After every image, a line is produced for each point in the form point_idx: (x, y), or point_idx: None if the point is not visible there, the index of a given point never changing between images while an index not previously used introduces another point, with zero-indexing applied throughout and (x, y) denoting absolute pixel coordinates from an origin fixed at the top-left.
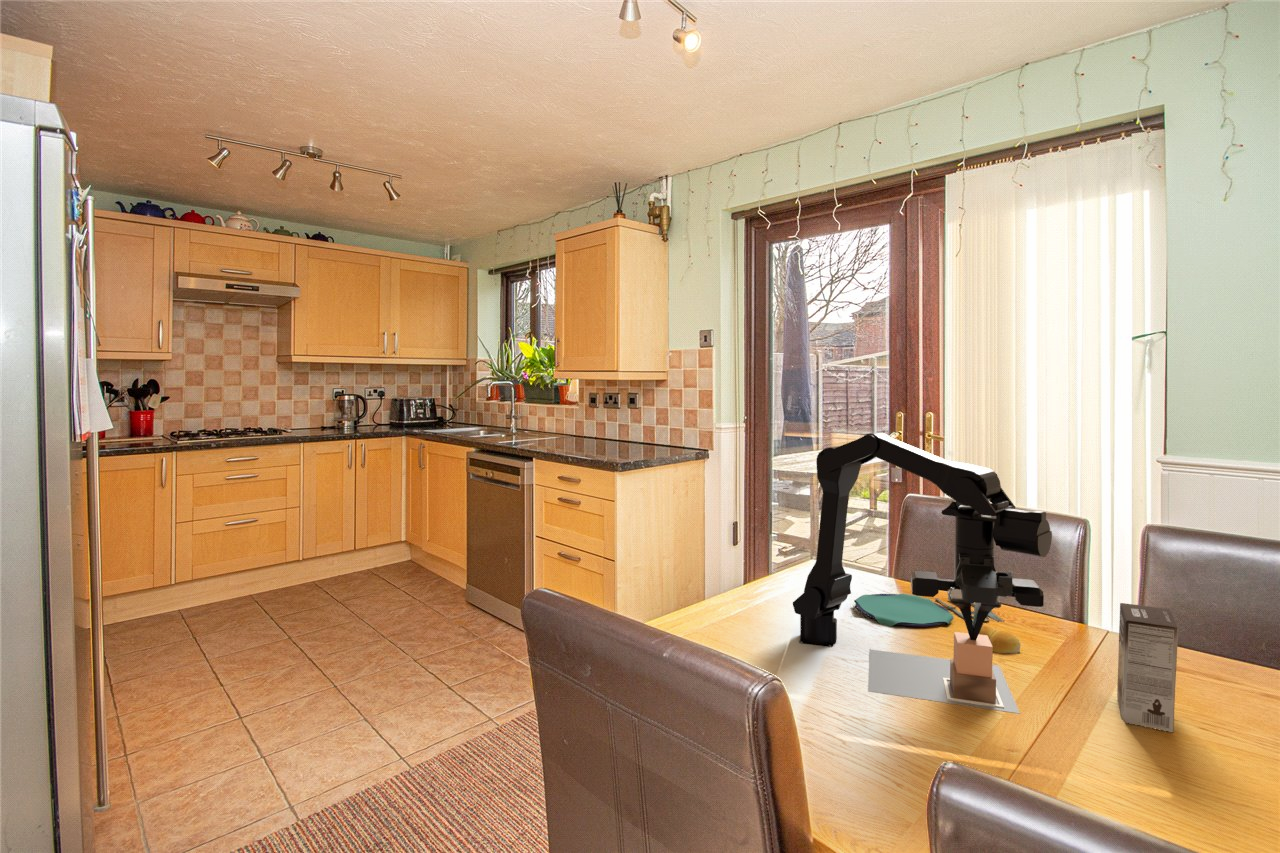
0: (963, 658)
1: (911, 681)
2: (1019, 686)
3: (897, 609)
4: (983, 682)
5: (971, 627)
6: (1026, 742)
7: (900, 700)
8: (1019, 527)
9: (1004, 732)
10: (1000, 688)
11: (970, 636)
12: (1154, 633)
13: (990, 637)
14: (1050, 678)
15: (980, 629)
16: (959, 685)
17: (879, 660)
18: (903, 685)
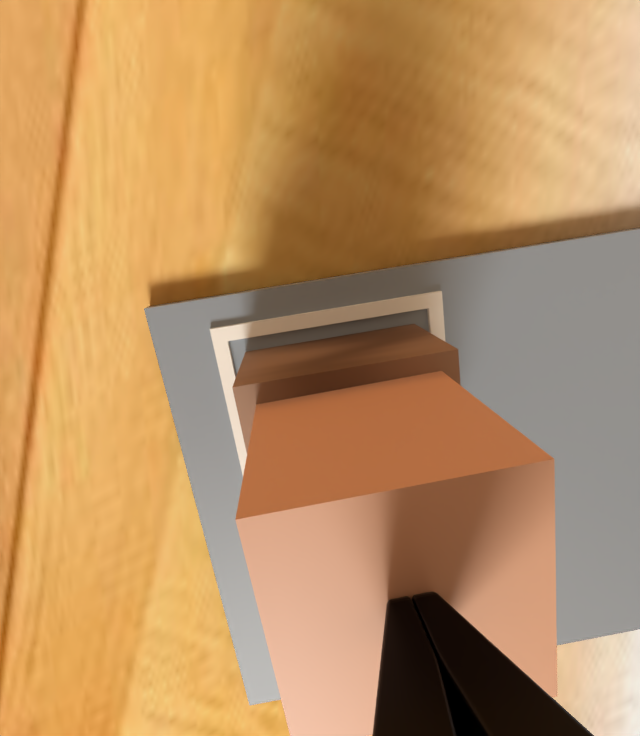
0: (443, 411)
1: (580, 400)
2: (173, 586)
3: None
4: (299, 367)
5: (493, 705)
6: (101, 52)
7: (622, 221)
8: None
9: (198, 113)
10: (235, 512)
11: (449, 609)
12: None
13: None
14: (75, 702)
15: (376, 714)
16: (409, 341)
17: None
18: (615, 344)
